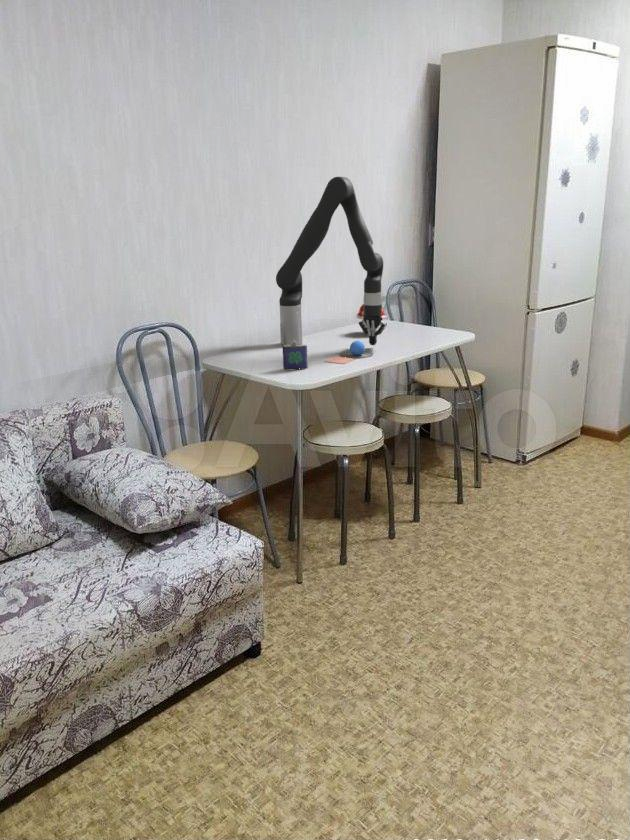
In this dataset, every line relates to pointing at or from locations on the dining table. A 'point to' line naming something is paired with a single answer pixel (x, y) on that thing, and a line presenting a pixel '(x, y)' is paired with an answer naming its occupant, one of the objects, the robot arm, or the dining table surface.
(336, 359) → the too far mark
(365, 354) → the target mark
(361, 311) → the decorative mushroom
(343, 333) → the dining table surface
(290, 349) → the flask
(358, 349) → the ball
